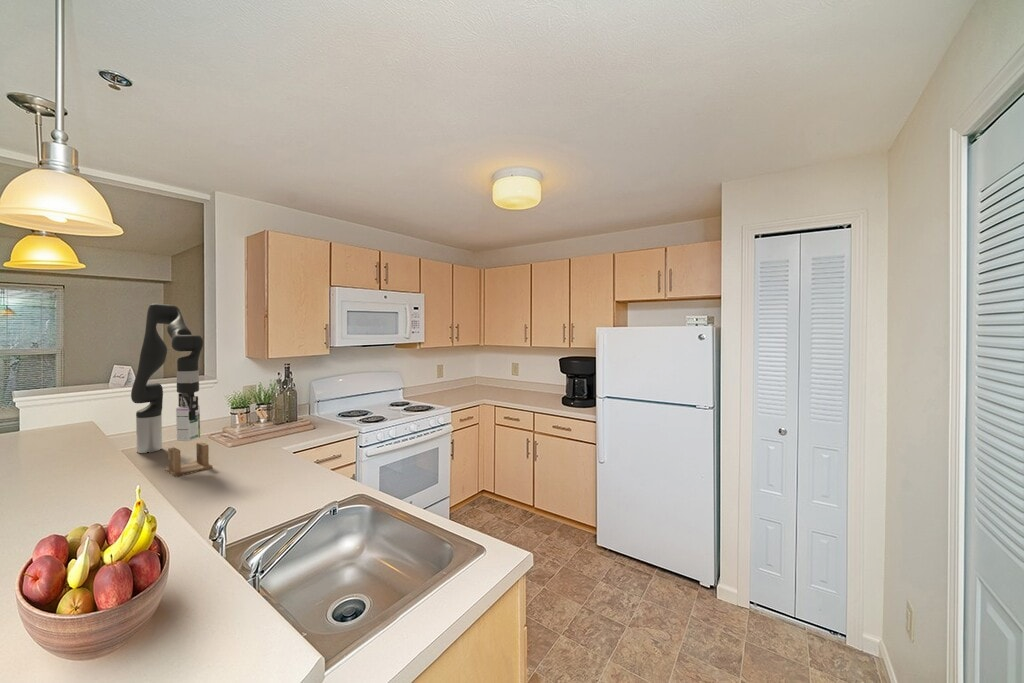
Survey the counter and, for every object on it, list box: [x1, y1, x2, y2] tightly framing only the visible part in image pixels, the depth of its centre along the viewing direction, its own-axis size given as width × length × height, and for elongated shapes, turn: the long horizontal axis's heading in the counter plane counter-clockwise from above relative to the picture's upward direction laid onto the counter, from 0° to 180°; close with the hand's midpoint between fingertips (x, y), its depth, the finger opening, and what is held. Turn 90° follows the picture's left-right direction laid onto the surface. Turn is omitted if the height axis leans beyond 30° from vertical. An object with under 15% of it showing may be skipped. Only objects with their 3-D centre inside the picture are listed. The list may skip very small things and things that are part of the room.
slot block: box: [164, 441, 213, 478], centre depth 172 cm, size 12×13×10 cm
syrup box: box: [175, 404, 201, 442], centre depth 172 cm, size 6×6×14 cm
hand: (188, 418), depth 172 cm, fingers closed on syrup box, 7 cm apart
